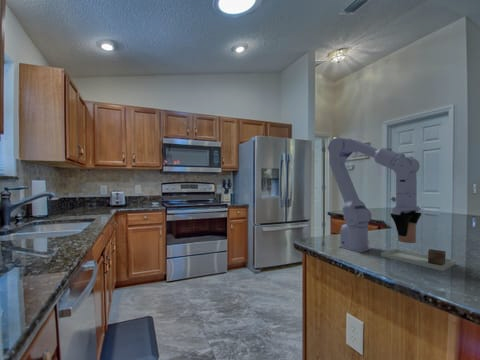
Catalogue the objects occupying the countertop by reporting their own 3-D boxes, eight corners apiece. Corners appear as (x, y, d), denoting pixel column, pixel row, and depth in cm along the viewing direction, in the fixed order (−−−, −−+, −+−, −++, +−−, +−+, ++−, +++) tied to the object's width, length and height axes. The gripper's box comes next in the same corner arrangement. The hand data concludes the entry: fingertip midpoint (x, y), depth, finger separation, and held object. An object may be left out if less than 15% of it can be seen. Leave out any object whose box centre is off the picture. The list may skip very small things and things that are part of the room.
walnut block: (428, 264, 78) (428, 251, 78) (429, 261, 81) (429, 249, 81) (444, 267, 76) (445, 254, 76) (445, 264, 79) (445, 251, 79)
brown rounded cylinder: (395, 240, 86) (395, 222, 86) (401, 238, 89) (401, 221, 89) (412, 243, 82) (412, 224, 82) (418, 241, 85) (418, 223, 85)
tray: (380, 258, 87) (380, 252, 87) (395, 253, 93) (395, 248, 93) (443, 273, 73) (443, 266, 73) (455, 266, 79) (455, 260, 79)
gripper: (409, 195, 78) (409, 240, 78) (429, 193, 86) (429, 234, 86) (385, 193, 84) (385, 235, 84) (405, 192, 92) (405, 230, 92)
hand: (406, 234), depth 86 cm, fingers closed on brown rounded cylinder, 5 cm apart
